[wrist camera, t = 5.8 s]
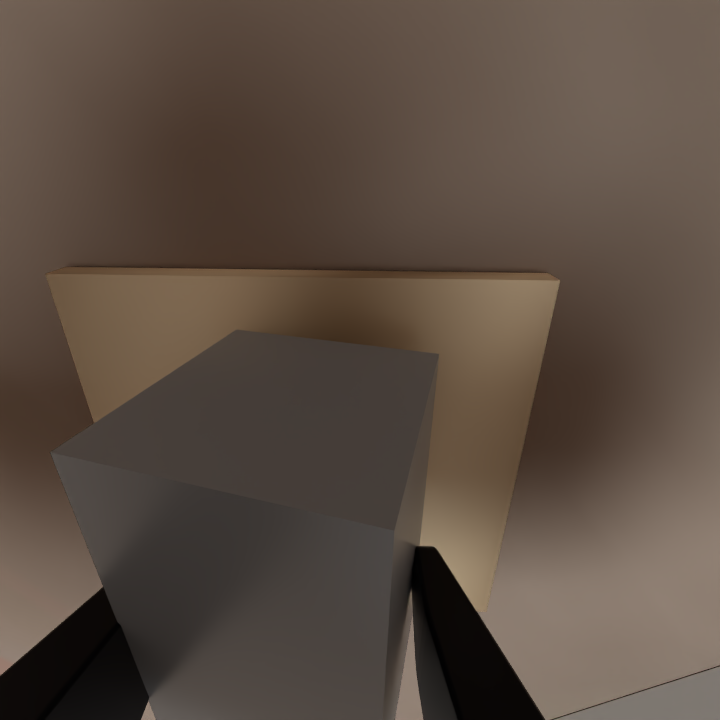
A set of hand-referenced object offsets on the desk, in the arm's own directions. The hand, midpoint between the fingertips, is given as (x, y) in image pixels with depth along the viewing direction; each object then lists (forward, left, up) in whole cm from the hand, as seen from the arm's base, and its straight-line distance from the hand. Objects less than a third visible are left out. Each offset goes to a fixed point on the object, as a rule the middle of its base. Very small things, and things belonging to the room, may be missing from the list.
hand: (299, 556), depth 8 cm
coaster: (0, 0, -3) cm, 3 cm away
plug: (+2, +1, 0) cm, 2 cm away
